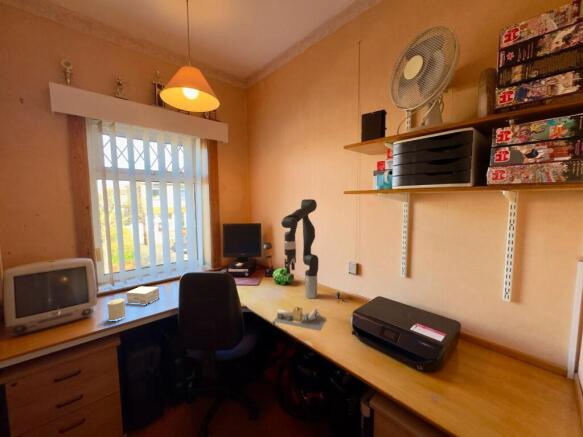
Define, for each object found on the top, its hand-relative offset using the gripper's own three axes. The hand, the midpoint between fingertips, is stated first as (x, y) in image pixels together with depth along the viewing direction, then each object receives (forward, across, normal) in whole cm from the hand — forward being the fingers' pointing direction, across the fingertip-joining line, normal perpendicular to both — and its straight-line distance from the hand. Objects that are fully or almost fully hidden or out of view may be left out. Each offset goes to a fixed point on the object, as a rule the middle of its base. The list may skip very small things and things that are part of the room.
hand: (290, 271), depth 159 cm
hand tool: (+28, +7, +43) cm, 52 cm away
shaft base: (+28, +10, +9) cm, 31 cm away
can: (+27, +46, -104) cm, 117 cm away
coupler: (+26, +11, +8) cm, 30 cm away
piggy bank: (+28, -49, -28) cm, 63 cm away
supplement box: (+27, +21, -113) cm, 118 cm away
